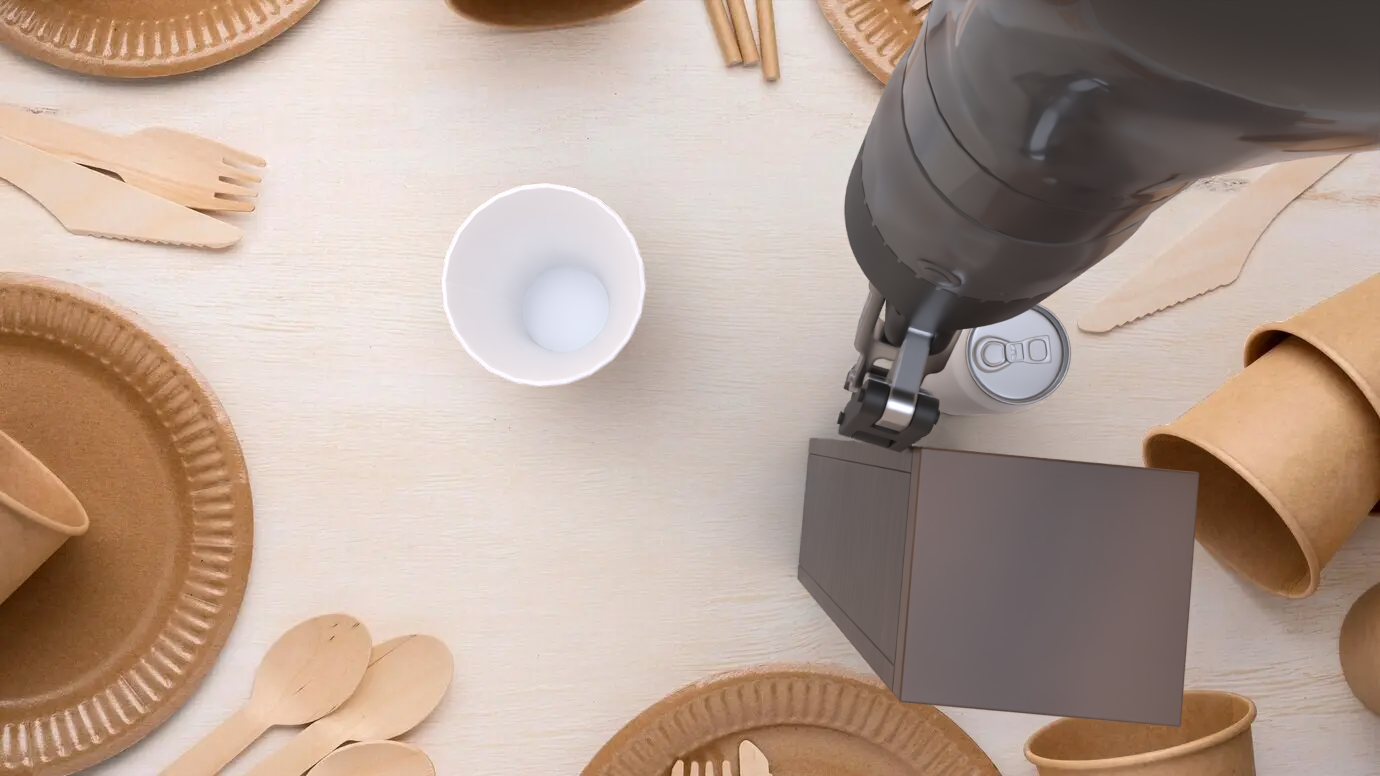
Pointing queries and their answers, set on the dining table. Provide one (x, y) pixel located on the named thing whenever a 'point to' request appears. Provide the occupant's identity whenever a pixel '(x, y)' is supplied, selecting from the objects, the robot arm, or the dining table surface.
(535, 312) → the cup
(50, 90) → the dining table surface
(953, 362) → the can
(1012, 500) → the shelf
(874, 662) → the shelf frame
